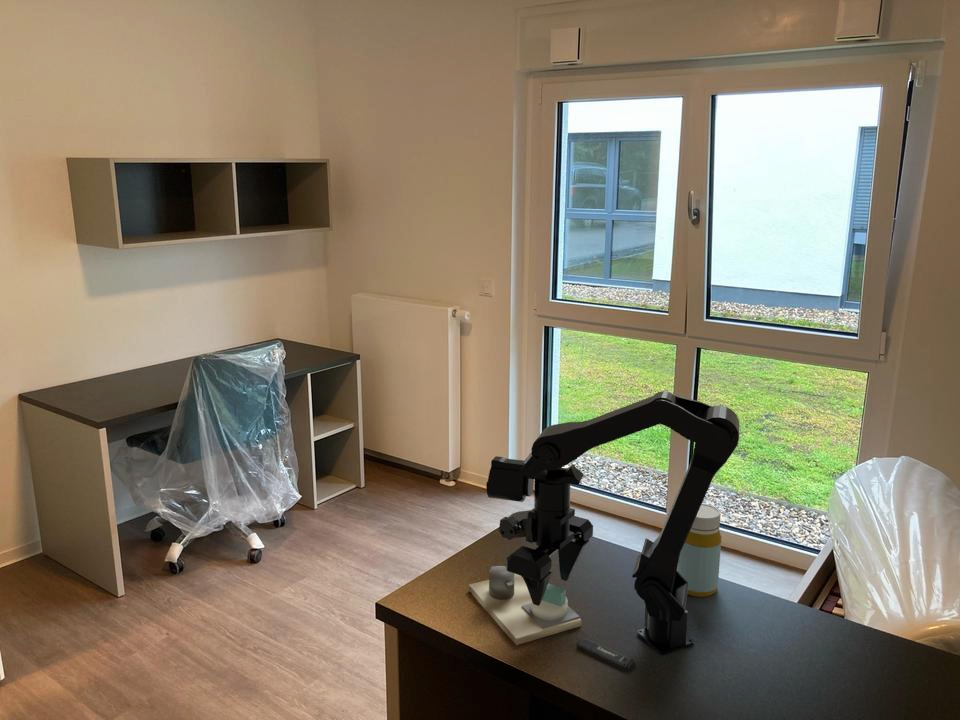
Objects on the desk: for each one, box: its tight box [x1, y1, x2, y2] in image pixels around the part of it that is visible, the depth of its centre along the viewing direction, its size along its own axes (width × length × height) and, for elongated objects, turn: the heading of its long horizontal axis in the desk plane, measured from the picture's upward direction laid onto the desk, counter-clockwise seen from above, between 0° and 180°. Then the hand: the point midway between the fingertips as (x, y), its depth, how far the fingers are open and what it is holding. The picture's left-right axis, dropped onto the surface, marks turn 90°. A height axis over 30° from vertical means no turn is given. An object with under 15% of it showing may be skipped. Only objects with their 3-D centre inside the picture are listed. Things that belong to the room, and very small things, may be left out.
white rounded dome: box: [531, 582, 569, 621], centre depth 128 cm, size 6×6×4 cm
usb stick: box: [576, 636, 636, 672], centre depth 119 cm, size 10×3×2 cm, turn 49°
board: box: [468, 565, 582, 646], centre depth 131 cm, size 18×12×5 cm, turn 25°
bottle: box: [677, 503, 722, 598], centre depth 136 cm, size 7×7×15 cm
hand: (550, 592), depth 127 cm, fingers open, 9 cm apart
